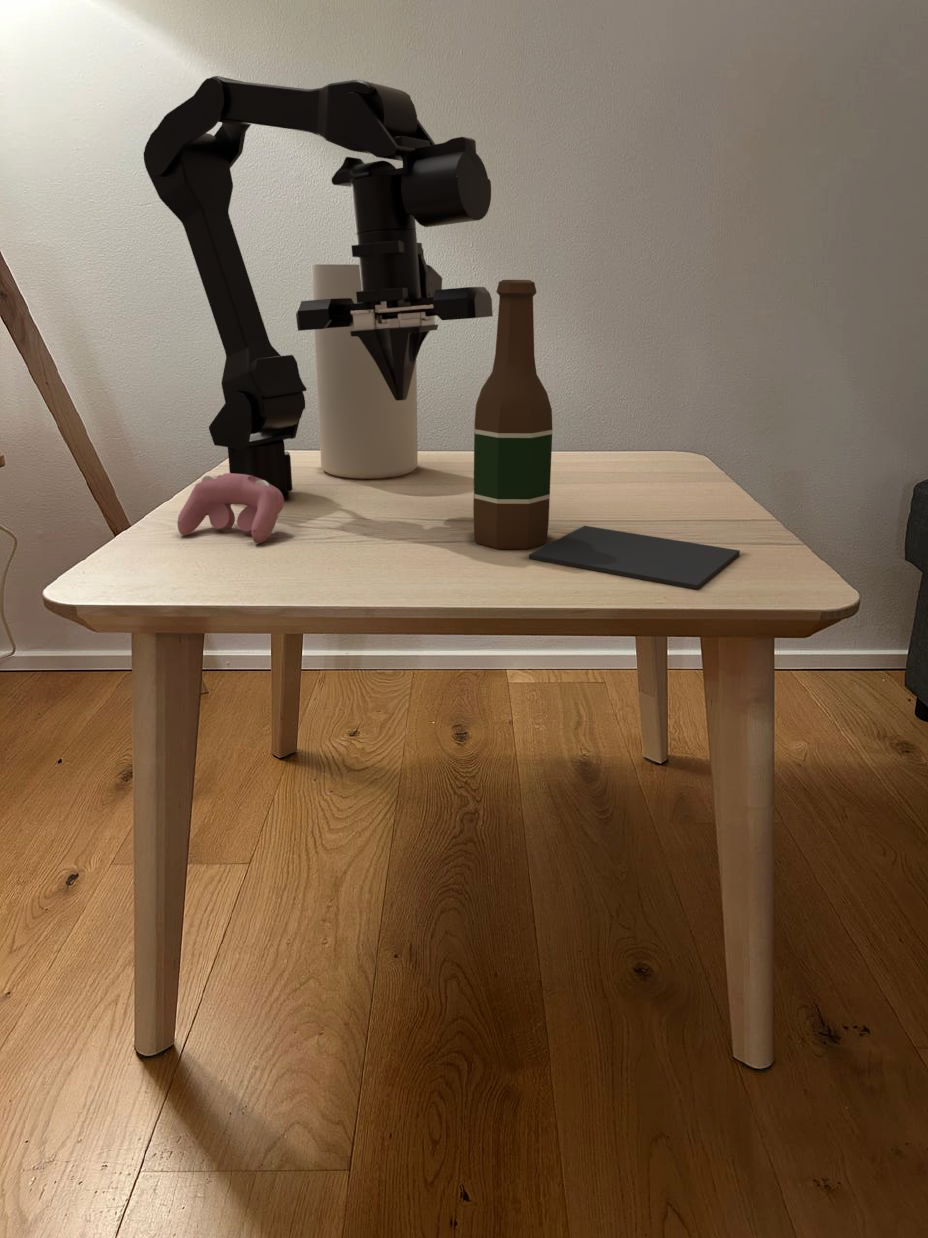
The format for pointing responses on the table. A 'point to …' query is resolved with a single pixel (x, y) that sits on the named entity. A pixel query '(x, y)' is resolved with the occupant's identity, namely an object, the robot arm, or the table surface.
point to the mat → (637, 556)
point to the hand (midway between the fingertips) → (401, 400)
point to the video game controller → (233, 489)
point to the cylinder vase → (358, 395)
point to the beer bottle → (513, 433)
